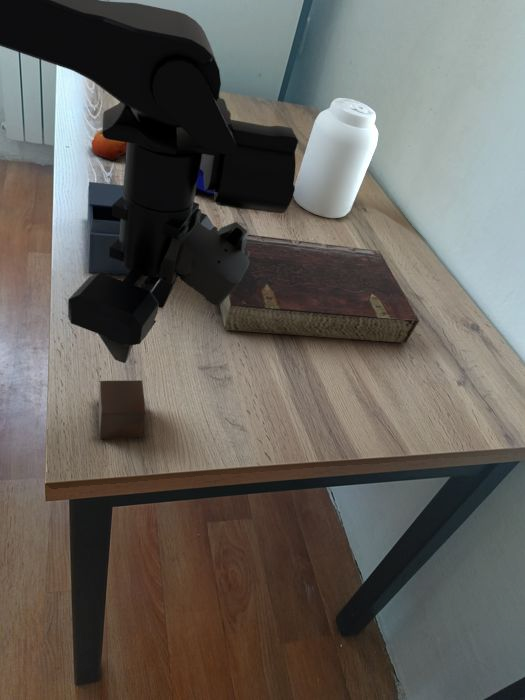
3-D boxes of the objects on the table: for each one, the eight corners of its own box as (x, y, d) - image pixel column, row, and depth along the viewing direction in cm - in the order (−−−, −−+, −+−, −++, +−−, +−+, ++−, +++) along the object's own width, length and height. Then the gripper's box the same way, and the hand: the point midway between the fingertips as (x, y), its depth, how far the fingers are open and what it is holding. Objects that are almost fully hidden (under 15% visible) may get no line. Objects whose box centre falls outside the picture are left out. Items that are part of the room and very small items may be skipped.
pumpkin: (132, 135, 108) (132, 119, 101) (136, 169, 108) (137, 155, 101) (91, 136, 106) (88, 119, 99) (95, 171, 106) (92, 156, 99)
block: (99, 439, 58) (101, 413, 55) (98, 406, 61) (100, 380, 58) (141, 437, 60) (145, 412, 57) (138, 405, 63) (142, 380, 60)
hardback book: (369, 271, 97) (380, 248, 93) (404, 344, 84) (418, 320, 80) (210, 253, 88) (216, 227, 85) (223, 331, 76) (230, 304, 72)
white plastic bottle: (346, 195, 117) (383, 102, 103) (352, 225, 107) (392, 127, 94) (291, 181, 115) (320, 85, 101) (291, 211, 106) (324, 108, 92)
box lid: (170, 236, 76) (170, 238, 76) (90, 229, 73) (90, 231, 73) (179, 226, 70) (179, 229, 70) (92, 219, 67) (92, 221, 67)
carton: (165, 276, 81) (171, 236, 76) (88, 272, 77) (89, 229, 73) (156, 228, 90) (161, 189, 85) (87, 222, 86) (88, 181, 81)
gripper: (215, 288, 37) (182, 426, 47) (277, 182, 51) (241, 307, 61) (64, 232, 37) (64, 382, 48) (167, 142, 51) (149, 273, 61)
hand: (140, 331), depth 54 cm, fingers open, 9 cm apart
